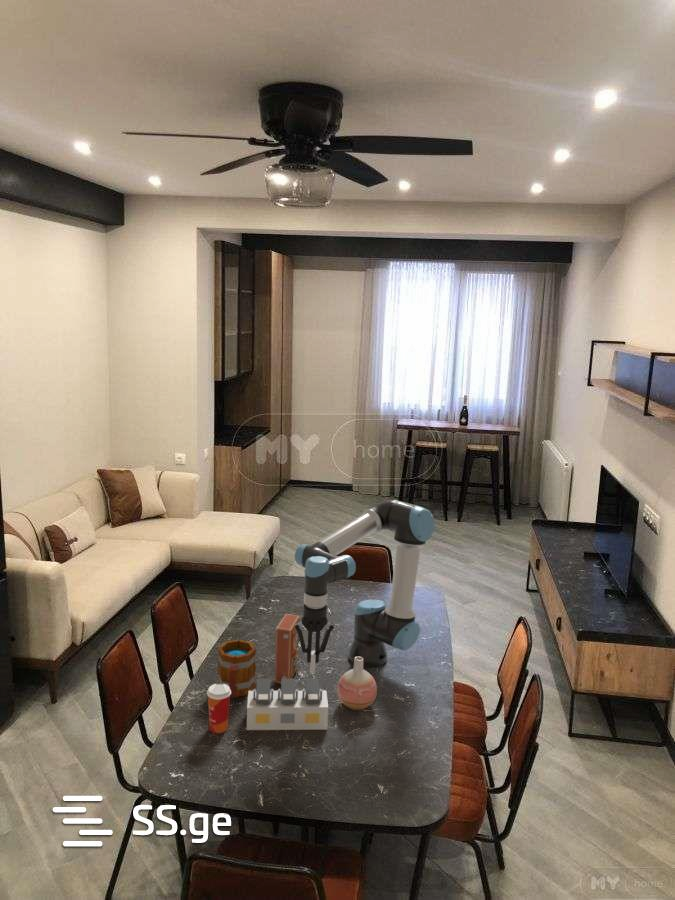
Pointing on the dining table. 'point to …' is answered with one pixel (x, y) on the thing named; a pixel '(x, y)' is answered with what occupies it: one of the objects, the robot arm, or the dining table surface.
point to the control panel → (286, 648)
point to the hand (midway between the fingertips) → (312, 670)
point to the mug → (237, 666)
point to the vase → (357, 687)
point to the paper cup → (218, 707)
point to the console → (287, 713)
